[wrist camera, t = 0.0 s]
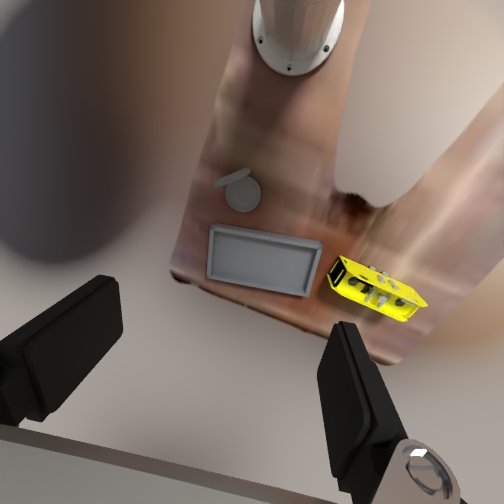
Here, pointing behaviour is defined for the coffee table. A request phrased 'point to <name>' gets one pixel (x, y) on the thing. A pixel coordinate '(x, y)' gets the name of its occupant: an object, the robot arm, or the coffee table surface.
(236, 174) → the pocket watch
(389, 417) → the robot arm
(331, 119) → the coffee table surface
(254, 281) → the tray
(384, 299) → the yellow toy chassis
